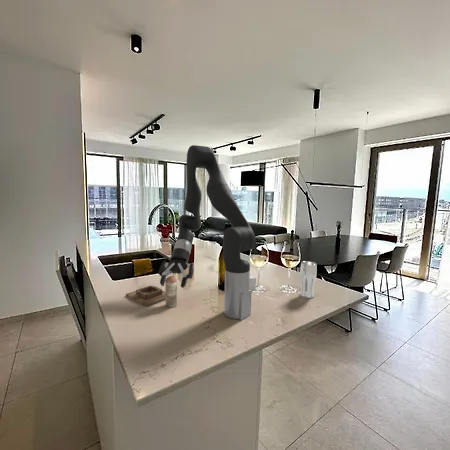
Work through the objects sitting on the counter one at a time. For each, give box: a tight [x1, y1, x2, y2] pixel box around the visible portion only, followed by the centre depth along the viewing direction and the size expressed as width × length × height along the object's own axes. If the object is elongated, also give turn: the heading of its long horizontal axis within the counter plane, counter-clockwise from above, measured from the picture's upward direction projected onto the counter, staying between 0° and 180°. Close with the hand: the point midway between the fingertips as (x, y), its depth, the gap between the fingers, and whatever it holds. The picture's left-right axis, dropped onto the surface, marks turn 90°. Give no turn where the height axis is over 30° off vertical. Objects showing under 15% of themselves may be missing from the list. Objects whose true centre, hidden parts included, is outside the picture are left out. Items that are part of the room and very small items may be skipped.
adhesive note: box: [249, 273, 257, 291], centre depth 124 cm, size 6×6×6 cm
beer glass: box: [299, 260, 318, 299], centre depth 115 cm, size 7×7×15 cm
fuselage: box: [164, 275, 178, 309], centre depth 104 cm, size 4×4×12 cm
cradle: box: [125, 285, 166, 308], centre depth 113 cm, size 16×13×3 cm
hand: (172, 286), depth 105 cm, fingers open, 8 cm apart
